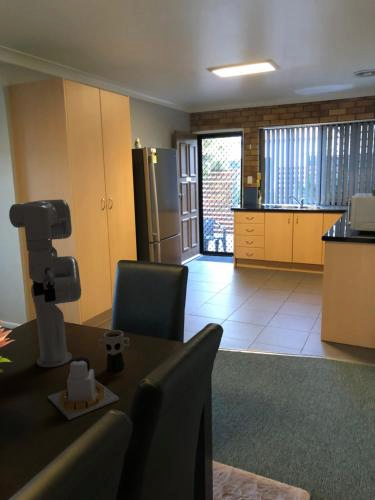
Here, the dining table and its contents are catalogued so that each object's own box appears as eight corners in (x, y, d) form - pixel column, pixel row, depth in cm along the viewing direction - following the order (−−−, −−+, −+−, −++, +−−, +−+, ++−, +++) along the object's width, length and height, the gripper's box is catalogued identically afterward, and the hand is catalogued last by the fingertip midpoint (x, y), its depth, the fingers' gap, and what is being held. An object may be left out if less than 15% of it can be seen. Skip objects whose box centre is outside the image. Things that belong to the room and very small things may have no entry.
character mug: (98, 373, 144) (96, 338, 142) (101, 364, 151) (99, 331, 149) (130, 371, 145) (128, 336, 143) (131, 363, 152) (129, 329, 150)
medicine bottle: (72, 391, 131) (69, 356, 129) (95, 389, 132) (92, 354, 129) (68, 403, 124) (64, 366, 122) (92, 401, 125) (89, 364, 122)
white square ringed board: (48, 398, 129) (47, 392, 129) (95, 381, 139) (94, 375, 138) (68, 420, 117) (68, 413, 116) (118, 399, 126) (118, 393, 126)
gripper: (18, 243, 132) (23, 295, 135) (36, 249, 119) (42, 306, 122) (41, 240, 137) (46, 290, 140) (62, 246, 124) (67, 301, 127)
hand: (44, 298), depth 131 cm, fingers open, 9 cm apart
